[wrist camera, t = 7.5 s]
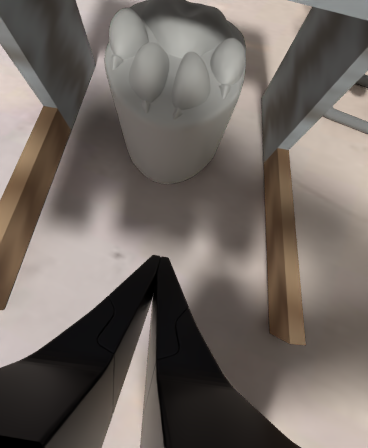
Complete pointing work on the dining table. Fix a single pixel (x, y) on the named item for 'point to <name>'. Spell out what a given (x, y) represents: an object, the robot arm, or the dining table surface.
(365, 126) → the newton's cradle
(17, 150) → the dining table surface
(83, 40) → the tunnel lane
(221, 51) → the grey animal paw
